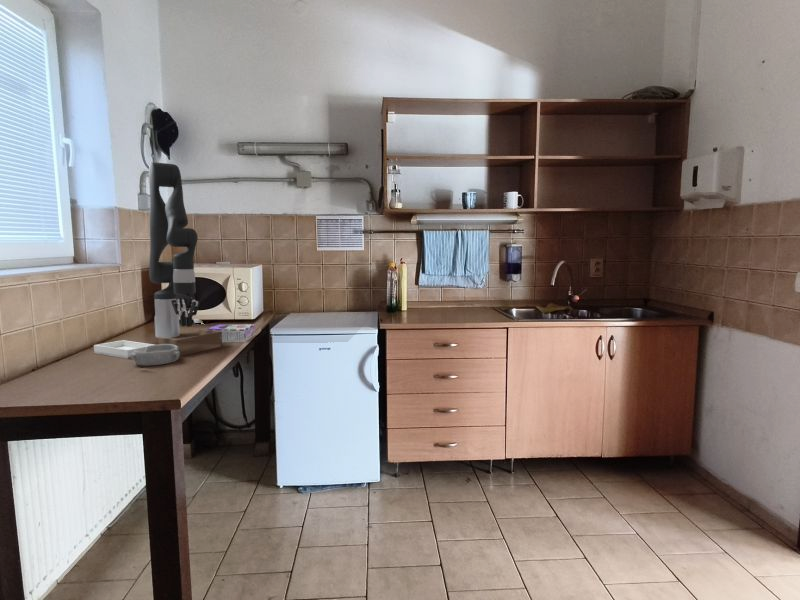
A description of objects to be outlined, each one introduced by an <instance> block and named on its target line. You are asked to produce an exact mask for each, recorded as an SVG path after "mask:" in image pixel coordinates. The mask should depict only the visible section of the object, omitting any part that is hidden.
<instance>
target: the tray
mask: <svg viewBox="0 0 800 600" xmlns="http://www.w3.org/2000/svg"><path fill="white" fill-rule="evenodd" d="M151 345H155V344H153V343H146V342H140V341H139V342H138V341H131V340H125V339H122V340H116V341H110V342H103V343H98V344H93V353H94V354H98V355H104V356H109V357H115V358H120V359H121V358H122V359H131V354H132V353H134V351H135V350H136V351H138V352H145V350H146V348H147V346H151Z"/></svg>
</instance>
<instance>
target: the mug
mask: <svg viewBox="0 0 800 600" xmlns="http://www.w3.org/2000/svg"><path fill="white" fill-rule="evenodd" d="M193 323H194V324H195V323H201V324H200V325H202V324H204V323H203V321H202V320H200V319H194V318H193ZM204 325H205V324H204Z"/></svg>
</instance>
